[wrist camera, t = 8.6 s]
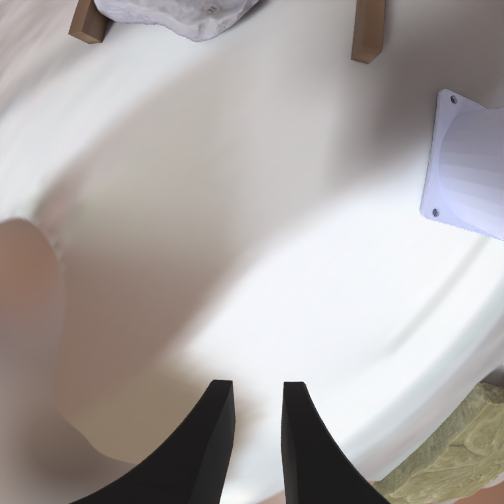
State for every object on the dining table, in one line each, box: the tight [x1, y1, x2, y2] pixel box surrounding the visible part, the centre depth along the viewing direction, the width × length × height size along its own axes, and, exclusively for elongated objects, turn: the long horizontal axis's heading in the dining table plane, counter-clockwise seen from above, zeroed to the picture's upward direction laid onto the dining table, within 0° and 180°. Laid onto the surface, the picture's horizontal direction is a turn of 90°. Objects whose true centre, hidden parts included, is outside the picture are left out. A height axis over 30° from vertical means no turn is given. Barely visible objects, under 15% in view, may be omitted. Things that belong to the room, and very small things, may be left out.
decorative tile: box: [372, 382, 504, 504], centre depth 22 cm, size 19×20×4 cm
